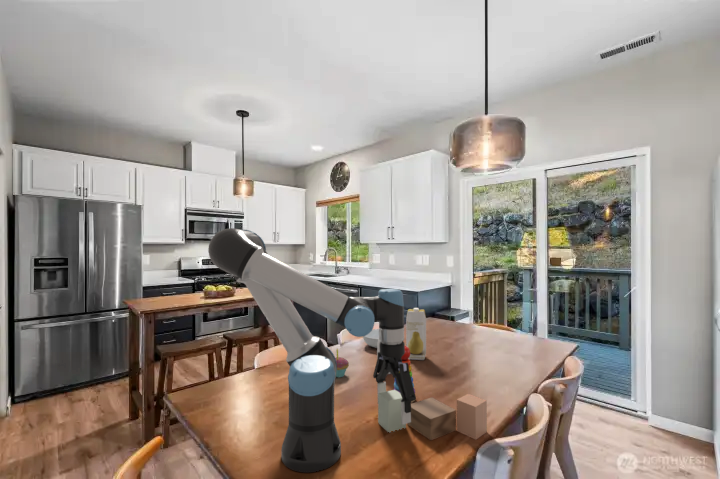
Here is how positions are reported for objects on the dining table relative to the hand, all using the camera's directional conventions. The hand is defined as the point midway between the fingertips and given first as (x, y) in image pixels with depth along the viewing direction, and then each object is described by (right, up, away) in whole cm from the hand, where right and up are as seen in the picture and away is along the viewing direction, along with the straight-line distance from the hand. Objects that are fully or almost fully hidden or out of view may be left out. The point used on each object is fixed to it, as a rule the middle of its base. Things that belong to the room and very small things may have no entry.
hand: (393, 412), depth 103 cm
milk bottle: (+1, -5, +44) cm, 44 cm away
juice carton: (+17, -5, +62) cm, 64 cm away
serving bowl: (+2, -6, +81) cm, 81 cm away
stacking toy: (+6, -4, +17) cm, 19 cm away
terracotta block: (+22, -4, -3) cm, 23 cm away
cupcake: (-19, -5, +40) cm, 44 cm away
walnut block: (+11, -4, -1) cm, 12 cm away
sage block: (0, -4, 0) cm, 4 cm away
